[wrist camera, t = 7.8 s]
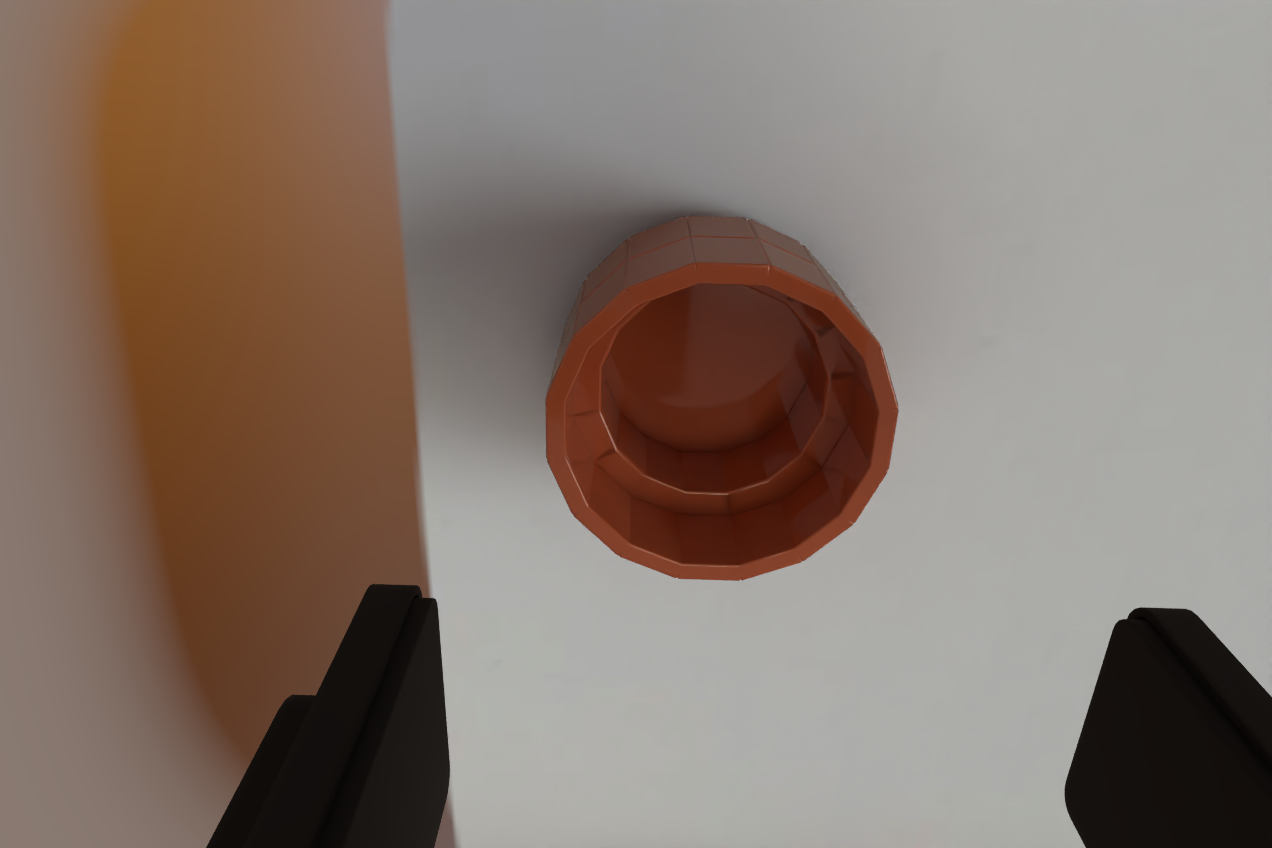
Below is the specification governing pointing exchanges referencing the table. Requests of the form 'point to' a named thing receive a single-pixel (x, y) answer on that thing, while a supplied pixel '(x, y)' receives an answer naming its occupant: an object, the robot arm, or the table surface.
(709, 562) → the terracotta bowl
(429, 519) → the table surface
